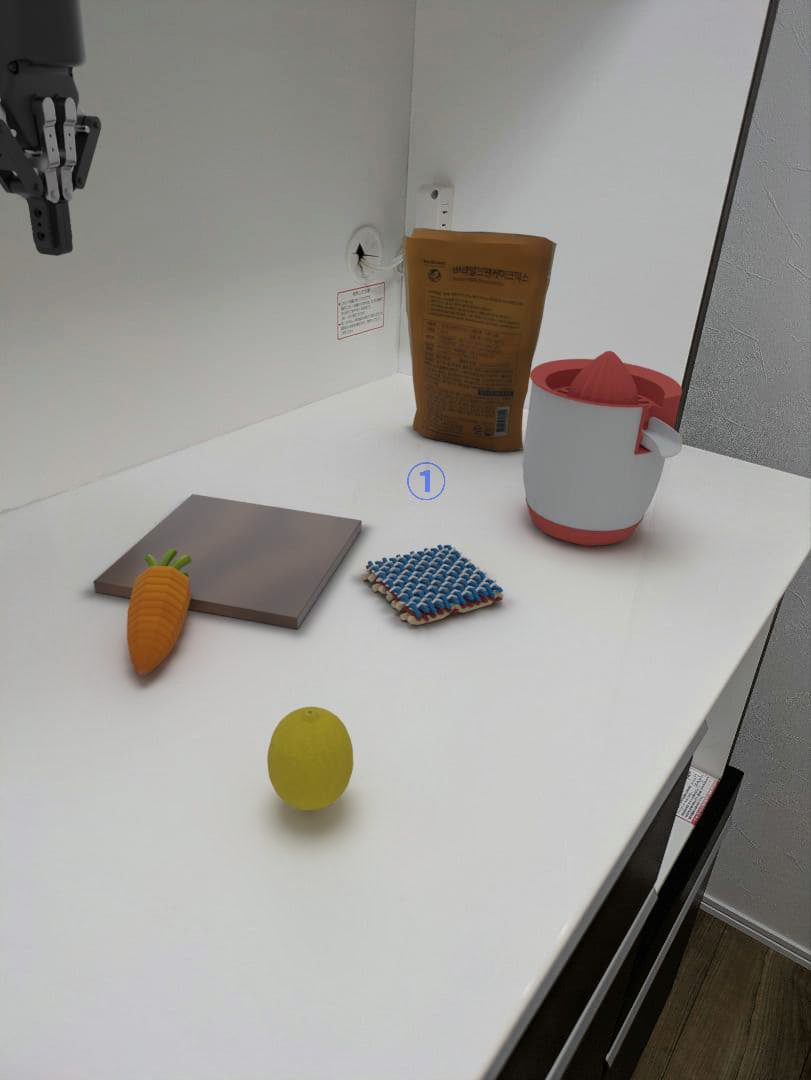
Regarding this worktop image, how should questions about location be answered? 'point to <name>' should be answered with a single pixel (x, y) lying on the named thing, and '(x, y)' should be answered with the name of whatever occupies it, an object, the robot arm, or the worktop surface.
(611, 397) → the citrus juicer
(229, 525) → the walnut board
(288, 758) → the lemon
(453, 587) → the woven mat
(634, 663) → the worktop surface
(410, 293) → the pancake mix bag
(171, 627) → the carrot
